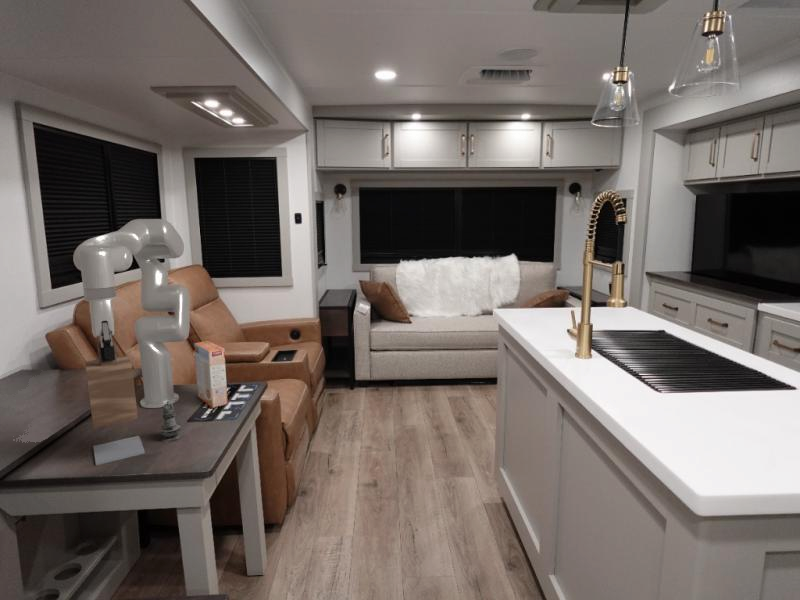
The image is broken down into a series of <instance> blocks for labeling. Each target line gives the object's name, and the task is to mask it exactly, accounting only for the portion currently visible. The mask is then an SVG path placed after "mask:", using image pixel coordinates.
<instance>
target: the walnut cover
mask: <svg viewBox="0 0 800 600" xmlns="http://www.w3.org/2000/svg"><path fill="white" fill-rule="evenodd" d="M112 343H113V346H114V353H115V360H112V361H106V362H102V360H101V351H100V347H101V342H100V341H99V340H98V341H96V345H97V354H98V359H94V360H88V361H87V360H86V361H85V362H84V364H85V372H86V381H87V389H88V396H89V404H90V412H91V419H92V424H93V429H95V428H100V427H104V426H109V425H114V424H118V423H123V422H127V421H133V420H138V418H139V417H138V407H137V397H136V389H135V379H134V372H133V370H134V369H133V363H132V362H131V359H130V357H129V355H121V356H117V351H116V342H115V340H114V339H112Z"/></svg>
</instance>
